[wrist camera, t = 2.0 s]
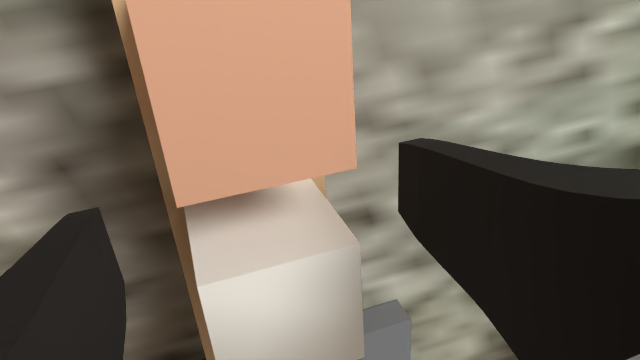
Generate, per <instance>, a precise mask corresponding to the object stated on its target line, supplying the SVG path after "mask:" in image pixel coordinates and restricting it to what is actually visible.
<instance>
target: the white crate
mask: <svg viewBox="0 0 640 360" xmlns="http://www.w3.org/2000/svg"><path fill="white" fill-rule="evenodd" d="M184 210H185V216H186V222H187V229H188V235H189V241H190V247H191V253H192V259H193V265H194V271H195V278H196V284H197V289H198V293H199V297H200V301H201V305H202V309H203V313H204V317H205V321H206V324H207V328H208V332H209V336H210V340H211V344H212V348H213V352H214V356H215V360H358V359H361V358H364V357H365V354H364V330H363V305H362V281H361V257H360V243H359V241H358V240H357V239H356V237H355V236H354V235H353V233H352V232H351V231H350V229H349V228H348V227H347V225H346V224H345V223H344V221H343V220H342V219H341V217H340V216H339V215H338V214H337V212H336V211H335V210H334V208H333V207H332V206H331V204H330V203H329V202H328V200H327V199H326V198H325V196H324V195H323V194H322V192H321V191H320V190H319V188H318V187H317V186H316V184H315V183H314V182H313V180H312V179H311V178H310V179H306V180H301V181H297V182H292V183H288V184H283V185H279V186H274V187H270V188H265V189H261V190H256V191H251V192H247V193H242V194H238V195H233V196H229V197H224V198H220V199H215V200H211V201H206V202H202V203H197V204H193V205H188V206H184Z"/></svg>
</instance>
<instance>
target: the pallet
mask: <svg viewBox="0 0 640 360" xmlns="http://www.w3.org/2000/svg"><path fill="white" fill-rule="evenodd" d="M112 4H113V8H114V11H115V15H116V19H117V23H118V27H119V30H120V34H121V38H122V42H123V46H124V49H125V53H126V57H127V61H128V64H129V68H130V72H131V76H132V80H133V83H134V87H135V91H136V95H137V99H138V102H139V106H140V110H141V114H142V118H143V121H144V125H145V129H146V133H147V137H148V140H149V144H150V148H151V152H152V156H153V159H154V163H155V167H156V171H157V175H158V178H159V182H160V186H161V190H162V193H163V197H164V201H165V205H166V209H167V212H168V216H169V220H170V224H171V228H172V231H173V235H174V239H175V243H176V247H177V250H178V254H179V258H180V262H181V266H182V269H183V273H184V277H185V281H186V285H187V288H188V292H189V296H190V300H191V304H192V307H193V311H194V315H195V319H196V323H197V326H198V330H199V334H200V338H201V341H202V345H203V349H204V353H205V357H206V360H215V356H214V352H213V348H212V344H211V340H210V336H209V332H208V328H207V324H206V321H205V317H204V313H203V309H202V305H201V301H200V297H199V293H198V289H197V284H196V278H195V271H194V265H193V259H192V253H191V247H190V241H189V235H188V229H187V222H186V216H185V210H184V207H179V208H177V206H176V202H175V198H174V194H173V190H172V186H171V182H170V178H169V174H168V170H167V166H166V162H165V158H164V154H163V150H162V146H161V142H160V138H159V134H158V130H157V126H156V122H155V118H154V113H153V109H152V105H151V101H150V97H149V93H148V89H147V85H146V81H145V77H144V73H143V69H142V65H141V61H140V57H139V53H138V49H137V45H136V41H135V37H134V33H133V29H132V25H131V21H130V17H129V13H128V9H127V5H126V1H125V0H112ZM311 179H312V180H313V182H314V183H315V184H316V186H317V187H318V188H319V190H320V191H321V192H322V194H323V195H324V196H325V198H326V199H327V197H326V183H325V175H324V176H319V177H315V178H311Z"/></svg>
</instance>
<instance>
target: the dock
mask: <svg viewBox="0 0 640 360" xmlns="http://www.w3.org/2000/svg"><path fill="white" fill-rule="evenodd" d="M363 330H364V354H365V357H364V358H361V359H358V360H410V350H411V318H410V317H409V315H408V314H407V313H406V311H405V310H404V309H403V307H402V306H401V305H400V303H399V302H398V301H397V300H394V301H391V302H388V303H384V304H381V305H378V306H375V307H371V308H368V309H365V310H363ZM205 360H206V359H205Z"/></svg>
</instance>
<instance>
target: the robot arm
mask: <svg viewBox="0 0 640 360" xmlns="http://www.w3.org/2000/svg"><path fill="white" fill-rule="evenodd" d="M398 212H399V213H400V215H401V216H402V218H403V219H404V221H405V223H406V224H407V226H408V227H409V229H410V230H411V231H412V233H413V234H414V236H415V237H416V238H417V240H418V241H419V242H420V243H421V244H422V245H423V246H424V248H425V249H426V250H427V251H428V252H429V253H430V254H431V255H432V256H433V257H434V258H435V259H436V261H437V262H438V263H439V264H440V265H441V266H442V267H443V268H444V269H445V270H446V271H447V272H448V273H449V274H450V275H451V276H452V277H453V279H454V280H455V281H456V282H457V283H458V284H459V285H460V286H461V287H462V288H463V289H464V290H465V291H466V292H467V293H468V294H469V296H470V297H471V298H472V299H473V300H474V301H475V302H476V304H477V305H478V306H479V307H480V308H481V309H482V310H483V312H484V313H485V314H486V316H487V317H488V318H489V320H490V321H491V322H492V324H493V325H494V326H495V328H496V329H497V330H498V332H499V333H500V334H501V336H502V337H503V338H504V340H505V341H506V342H507V344H508V345H509V347H510V348H511V349H512V351H513V352H514V354H515V355H516V357H517V358H518V359H519V360H640V170H638V169H616V168H599V167H587V166H578V165H569V164H560V163H553V162H546V161H539V160H534V159H528V158H522V157H517V156H512V155H507V154H502V153H497V152H492V151H488V150H483V149H479V148H474V147H469V146H465V145H460V144H456V143H451V142H446V141H440V140H434V139H424V138H419V139H414V140H410V141H405V142H400V143H399V186H398ZM125 331H126V301H125V285H124V280H123V277H122V274H121V271H120V268H119V265H118V262H117V259H116V256H115V254H114V251H113V248H112V245H111V242H110V239H109V236H108V233H107V230H106V227H105V224H104V222H103V219H102V216H101V213H100V210H99V207H98V208H93V209H89V210H84V211H79V212H75V213H70V214H67V215H66V216H65V217H63V218H62V219H61V220H60V221H59V222H58V223H57V224H55V225H54V226H53V227H52V228H51V229H50V230H49V231H48V232H47V233H46V234H45V235H44V236H43V237H42V238H41V239H40V240H39V241H38V242H37V243H36V244H35V245H34V246H33V247H32V248H31V249H30V250H29V251H28V252H27V253H26V254H25V255H23V256H22V257H21V258H20V259H19V260H18V261H17V262H16V263H15V264H14V265H13V266H12V267H11V268H10V269H8V270H7V271H6V272H5V273H4V274H3V275H2V276H0V360H123V352H124V341H125Z"/></svg>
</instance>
